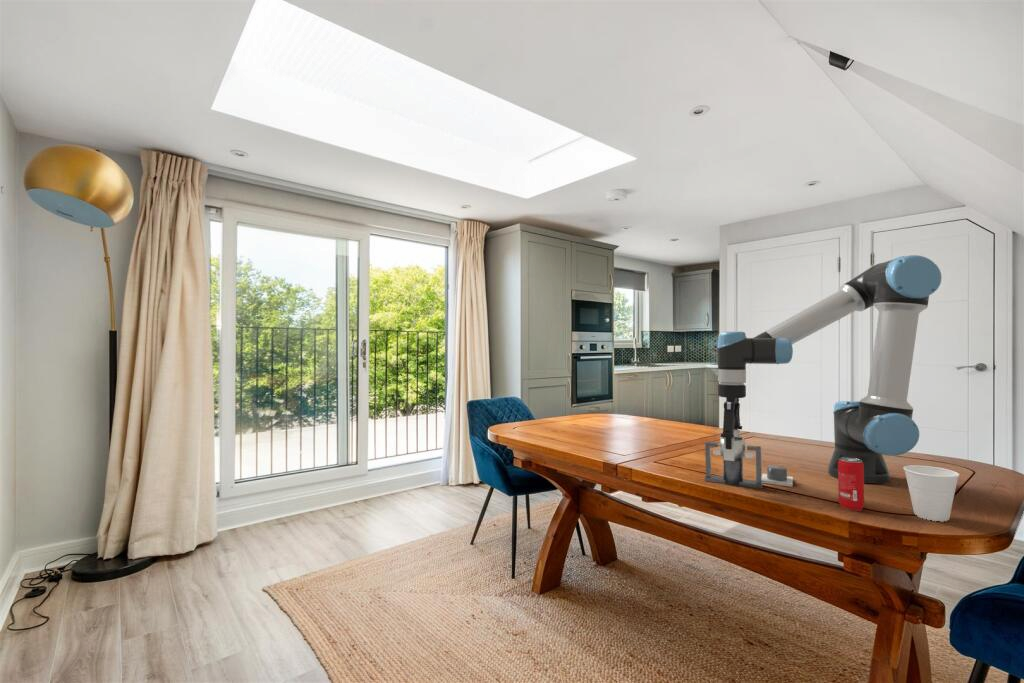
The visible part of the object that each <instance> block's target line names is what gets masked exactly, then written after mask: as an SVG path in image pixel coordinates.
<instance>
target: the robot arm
mask: <svg viewBox="0 0 1024 683" xmlns="http://www.w3.org/2000/svg"><path fill="white" fill-rule="evenodd" d="M941 283H942V273H941V269H940V268H939V266H938V265H937V264H936V262H934V261H933V260H931V259H930V258H928V257H925V256H923V255H917V254H916V255H915V254H913V255H911V254H910V255H903V256H899V257H895V258H893V259H891V260H887V261H883V262H880V263H877V264H875V265H872V266H871V267H869V268H867V269H866V270H864V271H863V272H861V273H859V274H857V275H856V276H855V277H853V278H852V279H850V280H849V281H847V282H845V283H843V284H841V285H840V289H839V290H838V291H836V292H833V293H832V294H831V295H828V296H826V297H825V298H823V299H821V300H819V301H818V302H816V303H814V304H812V305H810V306H808V307H807V308H804V309H803V310H801V311H800V312H797V313H795V314H794V315H792V316H790V317H789V318H786V319H785V320H783V321H782V322H779V323H777V324H776V325H774V326H772V327H770V328H769V329H767V330H765V331H764V332H760V333H759V334H758V335H756V336H755V337H751V338H750V337H747V336H746V335H747V334H746V332H745V331H721V332H719V334H718V335H717V336H718V337H717V347H716V348H717V369H718V370H717V371H716V372H715V375H716V376H717V382H719V384H718V385H717V396H718V397H719V398H726V401H724V402H723V424H722V426H723V427H722V433H720V438H721V437H724V460H728V461H734V438H733V437H741V436H740V435H741V432H740V431H741V430H743V426H742V425H741V417H740V409H741V403H740V402H739V401H740V399H742V398H743V399H744V398H746V396H747V392H746V391H747V386H746V385H745V384H746V382H747V369H746V368H747V366H746V365H747V364H749V365H750V364H756V365H760V364H761V365H762V364H763V365H764V364H765V365H782V364H783V365H784V364H785V365H786V364H789V363H790V362H791V361H792V359H793V356H794V355H793V353H794V350H793V348H794V347H793V345H794V344H796V343H797V342H799V341H801V340H804V339H806V338H807V337H809V336H811V335H813V334H815V333H816V332H818V331H820V330H822V329H825V328H826V327H828V326H830V325H831V324H833V323H835V322H837V321H839V320H840V319H841V320H842V319H843V318H845V317H846V316H848V315H850V314H852V313H854V312H856V311H857V312H863V311H865V310H867V309H869V308H871V307H874V308H876V309H877V311H878V316H877V323H876V329H875V330H876V331H875V339H874V344H873V354H872V359H871V360H872V361H871V367H870V368H871V369H870V375H869V381H868V389H867V394H866V396H864V397H863V398H861V399H860V400H859V401H858V400H857V401H854V400H853V401H851V400H850V401H845V400H843V401H836V402H835V403H834V406H833V413H832V414H833V426H834V427H833V429H834V432H833V434H834V450H833V453H832V455H831V458H830V460H829V463H828V466H827V467H828V468H827V469H828V470H827V471H828V475H829V476H832V477H834V478H836V479H838V461H839V458H842V457H848V458H856V459H860V460H862V463H863V464H864V484H886V483H889V482H891V474H890V471H889V467H888V465H887V463H886V461H885V458H884V455H886V456H893V457H894V456H900V455H904V454H906V453H908V452H910V451H911V450H913V448H915V447H916V445H917V444H918V442H919V439H920V428H919V427H918V425H917V423H916V422H915V420H914V419H913V412H914V407H913V406H912V405H911V404H910V403H909V402H908V397H909V396H908V394H909V387H910V382H911V374H912V367H913V361H914V360H913V359H914V354H915V353H914V351H915V345H916V339H917V331H918V324H919V322H918V321H919V317H920V316H919V315H920V313H922V312H923V311H925V310H926V309H928V306H929V300H930V296H931V295H932V294H934V293H935V292H936V291H937V290H938V289H939V288H940V286H941Z"/></svg>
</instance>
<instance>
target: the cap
mask: <svg viewBox="0 0 1024 683" xmlns="http://www.w3.org/2000/svg"><path fill="white" fill-rule="evenodd" d="M733 438H734V459H741V458H743V459H745V458H746V459H754V453H752V452H747V450H746V439H745V438H743V437H741V436H740V437H733ZM712 454H713V455H715V456H716V455H717V456H718V455H719V456H721V457H722V458H723V457H724V437H721V436H720V437H719V449H713V450H712Z"/></svg>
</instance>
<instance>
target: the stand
mask: <svg viewBox="0 0 1024 683" xmlns="http://www.w3.org/2000/svg"><path fill="white" fill-rule="evenodd" d="M793 478H794V477H793V476H788V468H787V467H786V466H780V465H767V466H766V473H762V482H763V484H768V485H774V486H776V485H777V486H784V487H792V488H793V484H794V483H793V482H794V479H793Z"/></svg>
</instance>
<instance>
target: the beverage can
mask: <svg viewBox="0 0 1024 683" xmlns="http://www.w3.org/2000/svg"><path fill="white" fill-rule="evenodd" d="M837 480H838V482H837V484H838V489H837V490H838V503H839V505H840V507H841V508H843V509H845V510H849V511H855V512H859V511H862V510H863V508H864V507H865V483H864V464H863V463H862V460H860V459H856V458H848V457H842V458H839V461H838V478H837Z"/></svg>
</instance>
